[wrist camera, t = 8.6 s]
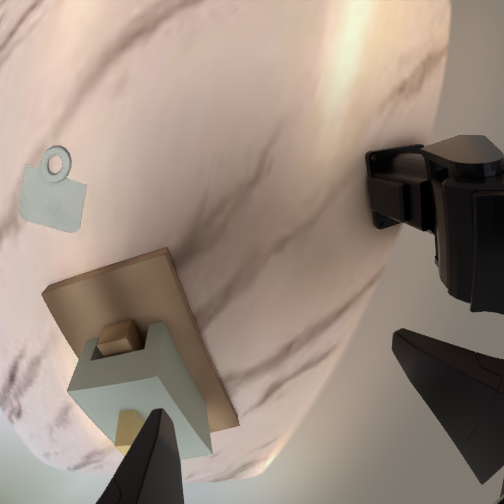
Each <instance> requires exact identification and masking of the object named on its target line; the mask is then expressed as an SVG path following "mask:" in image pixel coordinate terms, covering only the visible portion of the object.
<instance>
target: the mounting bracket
mask: <svg viewBox="0 0 504 504" xmlns="http://www.w3.org/2000/svg"><path fill="white" fill-rule="evenodd" d="M54 155H58V156H60V157H61V159H62V162H63V164H62V168H61V170H60V171H59V172H58V173H57V174H54V173H51V172H50V170H49V168H48V162H49V159H50V158H51V157H52V156H54ZM70 169H71V157H70V153H69V152H68V151H67V150H66V148H64V147H62V146H53V147H51V148H49V149H48V150H47V151H46V152H45V153H44V155H43V157H42V160H41V166H40V169H39V168H36V167H33V166H30V165H27V164H25V170H24V176H23V182H22V189H21V197H20V206H19V213H20V215H21V217H22V218H23V219H24V220H26V221H29V222H32V223H36V224H39V225H43V226H47V227H50V228H54V229H57V230H61V231H65V232H69V233H72V232H75V231H77V230H78V229H79V228H80V222H81V216H82V209H83V204H84V198H85V193H86V187H87V185H86V184H83V183H80V182H77V181H74V180H71V179H68V178H66V177H67V176H68V175H69V172H70Z"/></svg>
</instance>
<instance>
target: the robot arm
mask: <svg viewBox="0 0 504 504" xmlns="http://www.w3.org/2000/svg"><path fill="white" fill-rule="evenodd" d="M420 149H421V151H420ZM372 155H373V157H374V159H373V160H372V159H371V156H372ZM366 162H367V168H368V176H369V179H368V183H369V191H370V200H371V209H372V210H373V222H374V226H375V227H376V228H378V229H384V228H387V227H390V226H393V225H396V224H399V223H406V224H408V225H410V226H412V227H415V228H417V229H419V230H421V231H427V232H429V233H431V234H433V235H435V247H436V256H435V264H436V265H437V266H438V268H439V275H440V279H441V281H442V282H443V284H444V285H445V286H446V288H448V293H449V294H450V295H451V296H453V297H455V298H456V299H458V300H461V301H463V302H466V303H470V304H471V306H470V311H471V312H482V311H487V312H495V313H500V314H503V315H504V154H503V153H502V152H501V151H500V150H499V149H498V148H497V147H496V146H495V145H494V144H493V143H492V142H491V141H490V140H489V139H488V138H487V137H485V136H483V135H459V136H455V137H453V138H450V139H447V140H443V141H441V142H438V143H435V144H432V145H429V146H426V147H424V146H423V145H420V144H416V145H409V146H402V147H395V148H388V149H382V150H376V151H370V152H368V153H367V155H366ZM380 221H381V223H380V225H379V222H380ZM392 351H393V353H394V355H395V356H396V358H397V360H398V362H399V363H400V365H401V367H402V368H403V370H404V372H405V374H406V375H407V377H408V379H409V380H410V382H411V383H412V385H413V386H414V387H415V389H416V390H417V391H418V393H419V394H420V396H421V397H422V398H423V400H424V401H425V402H426V404H427V405H428V406H429V408H430V409H431V411H432V412H433V414H434V415H435V416H436V418H437V419H438V421H439V422H440V423H441V425H442V426H443V427H444V429H445V431H446V432H447V433H448V435H449V436H450V438H451V439H452V441H453V442H454V444H455V445H456V447H457V448H458V450H459V451H460V453H461V454H462V456H463V457H464V459H465V460H466V462H467V463H468V465H469V466H470V468H471V469H472V471H473V472H474V474H475V476H476V477H477V479H478V480H479V482H480V483H481V484H482V485H483V484H484V483H485V482H486V481H487V480H489V479H490V478H491V477H492V476H493V475H494V474H495V473H496V472H497V471H498V470H499V469H501V468H502V467H503V466H504V359H499V358H495V357H491V356H487V355H484V354H481V353H478V352H476V353H475V352H474V351H471V350H468V349H465V348H462V347H459V346H455V345H452V344H449V343H446V342H443V341H440V340H437V339H434V338H431V337H428V336H425V335H422V334H419V333H416V332H413V331H410V330H407V329H404V328H401V329H399V330H397V331H395V332H394V333H393V340H392ZM96 504H184V496H183V487H182V475H181V463H180V455H179V450H178V445H177V439H176V434H175V428H174V423H173V421H172V419H171V418H170V416H169V415H168V414H167V412H166V411H165V410H164V409H163V408H157V409H153V410H152V411H151V412H150V414H149V416H148V418H147V419H146V421H145V423H144V424H143V426H142V428H141V429H140V431H139V433H138V435H137V436H136V438H135V440H134V441H133V443H132V445H131V447H130V448H129V450H128V452H127V453H126V455H125V457H124V459H123V460H122V462H121V464H120V465H119V467H118V469H117V471H116V472H115V474H114V476H113V478H112V479H111V481H110V483H109V484H108V486H107V487H106V489H105V491H104V492H103V494H102V495H101V497H100V498H99V500H98V501H97V502H96ZM494 504H504V480H503V485H502V490H501V495H500V498H499V499H498V500H497V501H496V502H495V503H494Z"/></svg>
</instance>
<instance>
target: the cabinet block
mask: <svg viewBox="0 0 504 504" xmlns="http://www.w3.org/2000/svg"><path fill="white" fill-rule="evenodd" d="M98 340H99V337H97V338H93V339H89V340H87V342H86V344H85V346H84V349H83V351H82V354H81V356H80V358H79V361H78V363H77V366H76V368H75V371H74V373H73V376H72V379H71V381H70V384H69V387H68V389H67V392H68V394H69V395H70V396H71V397H72V399H73V400H74V401H75V402H76V403H77V405H78V406H79V407H80V408H81V409H82V410H83V412H84V413H85V414H86V415H87V416H88V417H89V418H90V419H91V420H92V422H93V423H94V424H95V425H96V426H97V427H98V428H99V429H100V430H101V431H102V432H103V433H104V434H105V435H106V436H107V437H108V438H109V439H110V440H111V441H112V442H113V443H114V444H115V445H114V446H115V447H116V448H117V449H118V450H119V451H120V452H121V453H122V454H123V455H124V456H125V455H126V453H127V452H128V450H129V448H130V447H131V445H132V443H133V441H134V440H135V438H136V436H137V435H138V433H139V431H140V429H141V428H142V426H143V424H144V423H145V421H146V419H147V418H148V416H149V414H150V412H151V411H152V410H153V409H157V408H163V409H164V410H165V411H166V412H167V414H168V415H169V416H170V418H171V419H172V421H173V423H174V428H175V434H176V439H177V445H178V450H179V455H180V460H182V459H189V458H195V457H201V456H207V455H212V454H213V453H212V446H211V438H210V431H209V423H208V415H207V406H206V402H205V400H204V398H203V396H202V395H201V393H200V391H199V389H198V388H197V386H196V384H195V382H194V380H193V379H192V377H191V375H190V373H189V371H188V369H187V367H186V365H185V363H184V362H183V360H182V358H181V356H180V354H179V352H178V350H177V348H176V346H175V344H174V342H173V340H172V338H171V336H170V334H169V332H168V329H167V327H166V325H165V323H164V321H160V322H157V323H153V324H149V327H148V332H147V338H146V343H145V349H143V350H139V351H134V352H130V353H125V354H121V355H116V356H112V357H107V358H104V356H103V355H102V353H101V351H100V350H99V348H98V347H97V343H98Z"/></svg>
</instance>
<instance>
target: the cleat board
mask: <svg viewBox="0 0 504 504" xmlns="http://www.w3.org/2000/svg"><path fill="white" fill-rule="evenodd" d="M41 295H42V297H43V299H44V301H45V303H46V304H47V306H48V308H49V310H50V312H51V314H52V316H53V317H54V319H55V321H56V323H57V325H58V326H59V328H60V330H61V331H62V333H63V335H64V337H65V338H66V340H67V341H68V343H69V345H70V346H71V348H72V349H73V351H74V353H75V354H76V356H77V357H78V359H79V358H80V356H81V354H82V351H83V349H84V346H85V344H86V342H87V340H89V339H93V338H97V337H99V340H98V343H97V347H98V348H99V350H100V351H101V353H102V355H103V356H104V358H107V357H112V356H116V355H121V354H125V353H130V352H134V351H139V350H143V349H145V343H146V338H147V332H148V327H149V324H153V323H157V322H160V321H164V323H165V325H166V327H167V329H168V332H169V334H170V336H171V338H172V340H173V342H174V344H175V346H176V348H177V350H178V352H179V354H180V356H181V358H182V360H183V362H184V363H185V365H186V367H187V369H188V371H189V373H190V375H191V377H192V379H193V380H194V382H195V384H196V386H197V388H198V389H199V391H200V393H201V395H202V396H203V398H204V400H205V402H206V406H207V415H208V423H209V431H210V433H211V432H215V431H220V430H224V429H228V428H233V427H237V426H240V425H239V420H238V416H237V414H236V412H235V410H234V407H233V405H232V403H231V401H230V399H229V397H228V395H227V393H226V391H225V389H224V387H223V384H222V382H221V380H220V378H219V376H218V374H217V371H216V369H215V367H214V365H213V363H212V360H211V358H210V356H209V354H208V351H207V349H206V347H205V344H204V342H203V340H202V337H201V335H200V332H199V330H198V328H197V325H196V323H195V320H194V318H193V315H192V313H191V310H190V308H189V305H188V303H187V300H186V298H185V295H184V293H183V290H182V287H181V285H180V282H179V279H178V277H177V274H176V271H175V269H174V266H173V263H172V260H171V257H170V255H169V252H168V249H167V247H166V248H163V249H160V250H157V251H153V252H150V253H147V254H144V255H140V256H137V257H134V258H131V259H128V260H125V261H121V262H118V263H115V264H112V265H109V266H106V267H103V268H100V269H97V270H94V271H91V272H87V273H84V274H81V275H78V276H75V277H72V278H69V279H67V280H64V281H61V282H58V283H55V284H52V285H49V286H48V287H47V288H46V289H45V290H44V291H43V293H42V294H41Z"/></svg>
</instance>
